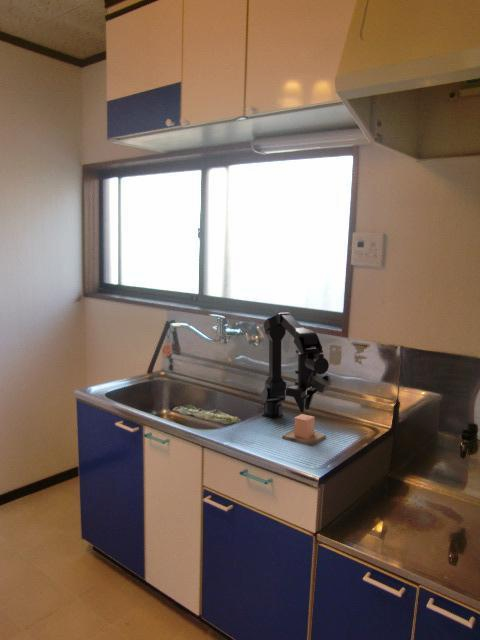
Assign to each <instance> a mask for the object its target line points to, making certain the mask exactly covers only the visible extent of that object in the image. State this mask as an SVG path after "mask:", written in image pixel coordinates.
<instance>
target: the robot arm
mask: <svg viewBox="0 0 480 640" xmlns="http://www.w3.org/2000/svg"><path fill="white" fill-rule="evenodd" d="M263 328H264V334H265V336H266V337H267V339H268V377H267V379H266V380H265V382H264V388H263V390H262V391H261V393H260V399H261V401H262V402H263V413H262V414H261V416H264V417H268V418H272V419H277V418H279V417H281V416H284V413H283V405H282V402H284V401H286V397H290V398H293V399H294V401H295V402H296V404H297V406H298V409H299V411H300V413H304V412H305V410H310V406H311V403H312V402H313V401H312V400H313V398H314V396H315V394H316V393H318V392H319V393H320V394H323V393H324V392H327V391H328V390H329V387H330V386H331V383H332V382H331V376H330V375H328V374H326V375H324V374H325V373H326V372H328V370H329V366H330V364H329V361H328V359H327V358H325V354H324V350H323V345H322V343H321V341H320V338H319V336H318V334H317V332H315V331H313V330H312V329H309V328H305V327H304V326H303V325H302V324H301V323H299V322H298V321H297V320H296V319H295V318H294V317H293V316H292V314H291V312H279V313H276V315H273V316H271V317H268V318H266V320H265V321H264V322H263ZM286 332H288V333H289V334H290V335H291V336H292V337H293V343H294V345H295V346H296V348H297V349H296V350H295V353H296V354H297V355H298V356H297V369H296V370H295V372H294V373H295V375H297V380H296V381H295V382H294V385H289V386H288V387H287V382H286V381H284V379H283V377H282V340H283V339H284V337H285V336H286ZM320 375H321V376H320ZM322 375H324V376H322Z"/></svg>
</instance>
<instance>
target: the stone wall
mask: <svg viewBox="0 0 480 640" xmlns="http://www.w3.org/2000/svg"><path fill="white" fill-rule="evenodd" d="M172 411H174V412H179V414H181V415H194V417H196V418H198V419H203V420H207V421H211V422H215V423H216V422H217V423H221V424H225V425H229V424H233V423H239V422H241V421H242V420H241V419H240V417H239V416H232V415H230V414H228V413H225V412H222V411H221V410H219V409H217V408H215V409H211V410H205V409H202V408H197V407H195V406H193V405H192V404H185V405H183V406H182V405H180V406H176V407H174V408H173V409H172Z"/></svg>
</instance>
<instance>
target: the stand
mask: <svg viewBox="0 0 480 640" xmlns="http://www.w3.org/2000/svg"><path fill="white" fill-rule="evenodd" d="M326 436H327V435H326V434H324V433H321V432H317V431H314V435H313V436H311V437H309V438H308V439H305V438H302V437H298V436H294V428H293V429H291V430H290V431H288V432H286V433H285V434H283V435H282V436H281V437H282V439H285V440H286V441H287V440H288V441H292V442H295V443H299V444H303V445H308V446H312V447H313V446H315V445H316V444H318V443H320V442H321V441H323V440H325V439H326V438H327V437H326Z"/></svg>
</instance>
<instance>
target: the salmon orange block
mask: <svg viewBox="0 0 480 640" xmlns="http://www.w3.org/2000/svg"><path fill="white" fill-rule="evenodd" d="M293 421H294V427H293V429H294V436H298V437H302V438H305V439H308V438H309V437H311V436H313V435H314V432H315V416H313V415H307V414H305V413H304V414H303V413H300V414H299V415H297V416H295V417H294V420H293Z"/></svg>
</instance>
